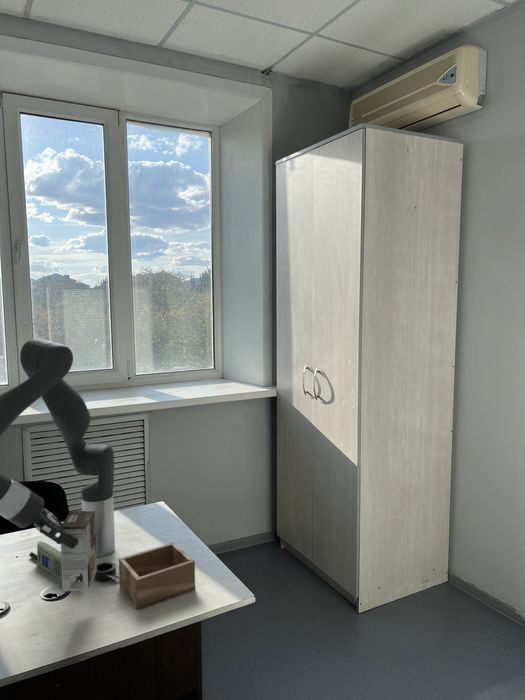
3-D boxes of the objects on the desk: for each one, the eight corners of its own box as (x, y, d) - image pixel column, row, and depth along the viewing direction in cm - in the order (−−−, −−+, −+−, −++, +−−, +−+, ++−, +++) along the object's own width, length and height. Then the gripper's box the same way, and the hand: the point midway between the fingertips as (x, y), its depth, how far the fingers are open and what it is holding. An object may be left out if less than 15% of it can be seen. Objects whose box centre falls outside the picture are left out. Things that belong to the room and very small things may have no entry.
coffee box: (71, 571, 133) (69, 510, 132) (97, 570, 134) (96, 509, 132) (61, 592, 124) (58, 526, 123) (89, 590, 125) (87, 525, 123)
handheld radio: (71, 589, 141) (25, 560, 156) (82, 585, 143) (36, 556, 159) (71, 565, 140) (25, 538, 156) (82, 561, 143) (36, 535, 158)
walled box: (119, 586, 142) (118, 558, 141) (174, 569, 151) (173, 542, 150) (138, 610, 131) (137, 580, 130) (195, 589, 140) (194, 561, 139)
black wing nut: (91, 588, 141) (91, 578, 141) (90, 570, 150) (89, 561, 150) (121, 583, 144) (120, 573, 143) (117, 566, 153) (117, 556, 153)
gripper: (35, 499, 114) (90, 536, 122) (22, 480, 126) (73, 514, 133) (10, 529, 112) (67, 564, 119) (-1, 506, 123) (52, 540, 131)
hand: (70, 538), depth 126 cm, fingers closed on coffee box, 8 cm apart
